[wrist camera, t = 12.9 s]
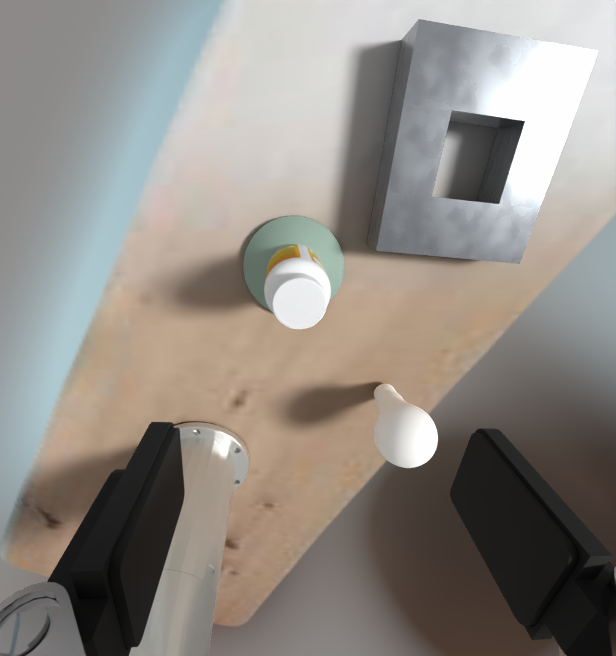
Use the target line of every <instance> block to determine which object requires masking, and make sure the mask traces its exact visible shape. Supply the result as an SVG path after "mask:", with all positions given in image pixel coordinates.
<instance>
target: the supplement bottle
mask: <svg viewBox="0 0 616 656" xmlns="http://www.w3.org/2000/svg"><path fill="white" fill-rule="evenodd" d="M264 294H265V300H266V303H267V305H268V307H269V308H270V310H271V311H272V312H273V313H274V315H275V316H276V318H277V319H278V320H279V321H280V322H281V323H282V324H283V325H285V326H287V327H289V328H292V329H306V328H309V327H311V326H313V325H315V324H316V323H318V322H319V321H320V320H321V318H322V317H323V315H324V313H325V311H326V307H327V305H328V303H329V300H330V295H331V287H330V282H329V278H328V276H327V274H326V272H325V270H324V267H323V266H322V264H321V261H320V259H319V258H318V256H317V255H316V254H315V252H314V251H313V250H311V249H310V248H308V247H306V246H304V245H301V244H289V245H285V246H283V247H281V248H279V249H278V250H277V251H275V252H274V254H273V255H272V256H271V258H270V260H269V263H268V266H267V272H266V278H265V285H264Z"/></svg>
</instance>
